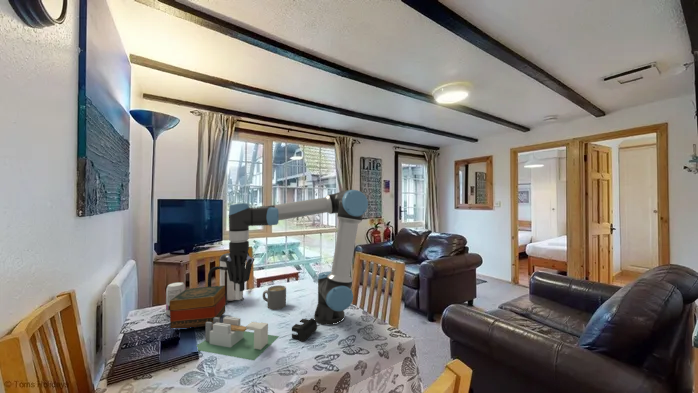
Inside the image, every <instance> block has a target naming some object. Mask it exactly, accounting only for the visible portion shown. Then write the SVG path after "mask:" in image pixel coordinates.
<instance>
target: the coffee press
mask: <svg viewBox="0 0 698 393" xmlns="http://www.w3.org/2000/svg"><path fill="white" fill-rule="evenodd" d="M228 251H229V250H228ZM229 254H230V251H229V252H227V253H224V254H222V255H221V256H220V258H219V259H218V260H219V266H213V267H211V268H210V269H209V271H208V272H207V287H212V276H213V275H212V274H213V273H214V272H215V271H217V270H219V286H225V306H227V304H228V302H232V301H237V300H236V291H235V290H234V282H233V281H230V280H229V275H228V270H227V265H226V262H225V260H224V258H226V257H228V256H229ZM243 300H245V298H244V297H243V298H242V299H240V300H239V301H241V302H243Z"/></svg>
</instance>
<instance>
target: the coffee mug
mask: <svg viewBox="0 0 698 393" xmlns="http://www.w3.org/2000/svg"><path fill="white" fill-rule="evenodd" d="M266 294H267V297H266ZM262 299H263V301H264V302H267V309H268V310H273V311H275V310H282V309H284V308H286V307H287V287H286V286H285V285H280V284H279V285H272V286H269V287H268V288H267V289H266V290H264V291H263V292H262Z"/></svg>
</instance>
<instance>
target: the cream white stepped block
mask: <svg viewBox="0 0 698 393" xmlns="http://www.w3.org/2000/svg"><path fill="white" fill-rule="evenodd" d="M245 327H246V329H247V330H249V331H253V332H254V349H259V350H261V349H262V348H263V347H264V346H265V345H266V344H267V343H268V335H269V323H268V322H255V321H251V322H249V324H247V325H246V326H245Z"/></svg>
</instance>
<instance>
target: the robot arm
mask: <svg viewBox="0 0 698 393" xmlns="http://www.w3.org/2000/svg"><path fill="white" fill-rule="evenodd" d="M368 207H369V201H368V198H367V196H366V195H365V193H363V192H362V191H360V190H357V189H349V190H342V191H339V192H335V193H331V194H326V196H325V197H320V198H311V199H305V200H298V201H292V202H286V203H285V202H284V203H280V204H273V205H271V204H270V205H267V206H266V205H263V206H260V207H250V205H249V203H246V202H243V203H242V202H238V203H235V202H233V203H230V205H229V207H228V241H229V242H228V245H229V246H228V251H230V252H229V253H230V254H229V256H228V257H226V258H224V260H225V262H226V265H227V270H228V275H229V280H230V281H233V282H234V290H235V291H236V300H235V301H241V300H240V299H242V298H244V291H245V290H246V289H245V286H246V285H245V283H246V282H249V281H250V276H251V273H252V268H253V267H252V266H253V263H254V261H255V257H251V256H250V254H249V253H250V252H249V249H250V241H249V238H250V233H249V231H250V230H249V229H250V227H254V226H255V227H256V226H259V227H260V226H269V227H271V226H277V225H278V224H279V221H282V220H290V219H295V218H302V217H308V216H313V215H320V214H325V213H328V214H329V215H332V214H333V215H334V214H337V217H336V218H337V219H338V221H339V223H338V230H337V234H336V235H337V236H336V242H335V246H334V255H333V260H332V266H331V270H330V271H322V272H320V273H318V275H317V276H318V278H317V305H316V308H315V311H314V315H313V316H314V318H313V319H315V321H316V322H318V323H317V324H319V323H321V324H320V325H323V324H333V323H337V322H339V321H341V320H342V319H343V318H344V316H345V311H346V310H347V309H348V308H349V307H350V306H351V305H352V303H353V300H354V294H353V291H352V285H353V279H352V277H351V270H352V264H353V258H354V251H355V246H356V239H357V232H358V226H359V224H360V223H362V220H363V217H364V214H365V213H366V211H367V210H368ZM242 300H243V299H242ZM344 319H345V318H344Z"/></svg>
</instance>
